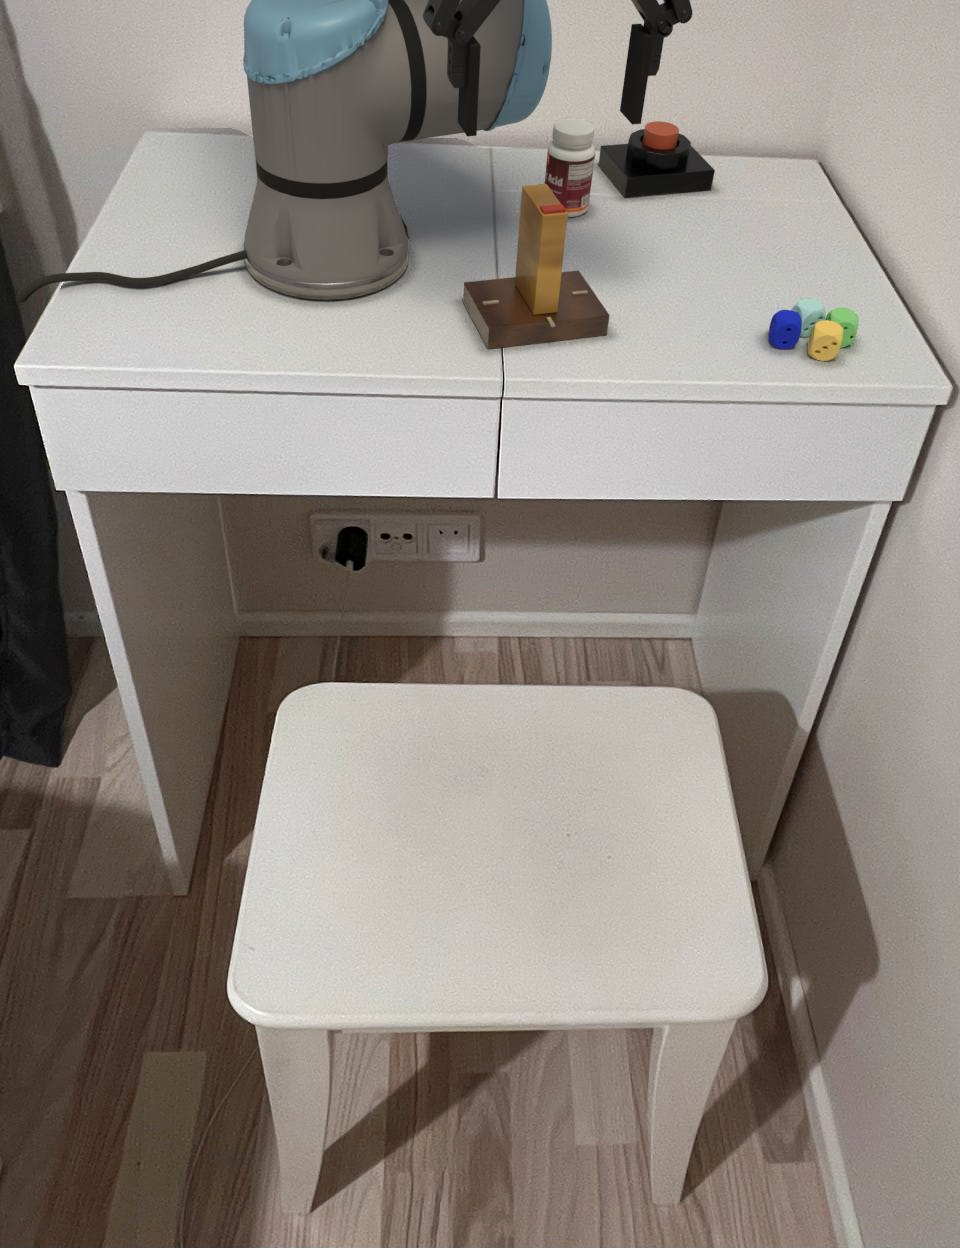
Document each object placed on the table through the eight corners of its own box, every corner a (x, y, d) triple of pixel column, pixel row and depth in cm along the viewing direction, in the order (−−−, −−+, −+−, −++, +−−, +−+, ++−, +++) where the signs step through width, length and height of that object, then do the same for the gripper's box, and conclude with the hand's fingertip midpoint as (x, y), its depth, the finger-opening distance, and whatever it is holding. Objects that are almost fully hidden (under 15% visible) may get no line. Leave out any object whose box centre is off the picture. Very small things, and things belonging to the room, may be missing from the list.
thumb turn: (514, 283, 100) (522, 182, 93) (537, 281, 101) (546, 180, 94) (533, 315, 96) (542, 212, 90) (557, 312, 97) (568, 210, 90)
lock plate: (490, 354, 96) (491, 332, 94) (460, 297, 102) (461, 275, 100) (610, 340, 98) (613, 318, 96) (573, 285, 104) (575, 264, 103)
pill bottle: (534, 201, 116) (541, 119, 110) (574, 194, 118) (583, 113, 112) (555, 221, 113) (563, 138, 107) (596, 214, 115) (607, 131, 109)
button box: (624, 198, 118) (630, 160, 115) (598, 165, 123) (602, 128, 120) (711, 190, 120) (718, 153, 117) (681, 158, 125) (687, 122, 122)
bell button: (650, 153, 117) (652, 136, 116) (637, 138, 120) (639, 122, 118) (681, 150, 118) (684, 133, 117) (668, 136, 120) (670, 120, 119)
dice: (755, 330, 100) (789, 369, 96) (761, 304, 98) (797, 342, 94) (833, 319, 102) (870, 357, 98) (841, 293, 100) (879, 331, 96)
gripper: (407, -195, 67) (407, 155, 83) (779, -196, 73) (714, 131, 88) (380, -221, 72) (384, 114, 87) (730, -220, 78) (676, 94, 93)
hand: (550, 123), depth 88 cm, fingers open, 13 cm apart
